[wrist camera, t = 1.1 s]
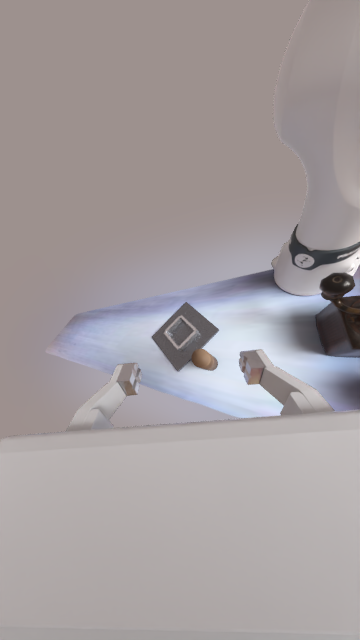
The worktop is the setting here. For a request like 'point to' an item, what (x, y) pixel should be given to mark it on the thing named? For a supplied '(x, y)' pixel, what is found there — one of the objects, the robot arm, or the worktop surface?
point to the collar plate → (184, 335)
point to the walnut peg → (204, 359)
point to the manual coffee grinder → (339, 317)
